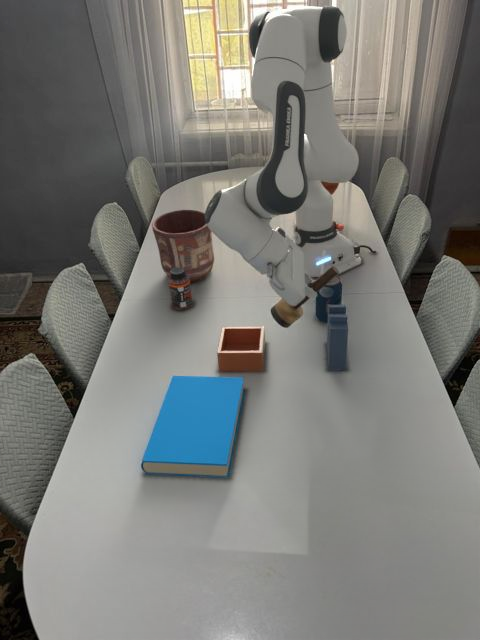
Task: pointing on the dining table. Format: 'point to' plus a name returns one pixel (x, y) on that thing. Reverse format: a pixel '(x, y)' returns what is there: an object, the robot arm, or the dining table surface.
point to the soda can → (328, 298)
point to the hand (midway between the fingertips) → (314, 291)
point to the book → (196, 427)
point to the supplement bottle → (180, 289)
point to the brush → (288, 313)
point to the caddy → (241, 349)
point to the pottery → (184, 243)
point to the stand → (337, 337)
